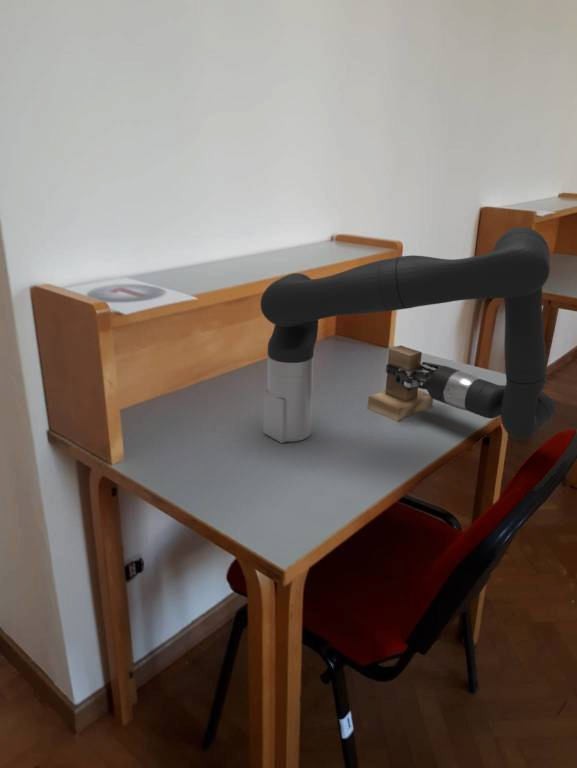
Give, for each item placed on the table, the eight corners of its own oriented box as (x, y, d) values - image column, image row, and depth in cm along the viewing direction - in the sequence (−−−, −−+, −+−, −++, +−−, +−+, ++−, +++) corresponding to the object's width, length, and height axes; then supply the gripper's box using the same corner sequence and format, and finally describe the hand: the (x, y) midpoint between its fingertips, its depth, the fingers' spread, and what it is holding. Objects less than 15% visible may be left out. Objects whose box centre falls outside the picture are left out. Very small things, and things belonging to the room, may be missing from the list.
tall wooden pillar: (405, 402, 142) (410, 355, 138) (385, 394, 147) (389, 348, 143) (417, 398, 145) (421, 352, 141) (396, 390, 149) (400, 345, 145)
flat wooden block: (397, 421, 140) (398, 409, 139) (367, 408, 146) (368, 396, 145) (432, 407, 147) (433, 395, 146) (402, 395, 154) (403, 384, 152)
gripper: (478, 364, 136) (415, 344, 148) (437, 379, 127) (373, 356, 140) (474, 396, 139) (412, 374, 151) (433, 413, 130) (371, 388, 142)
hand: (394, 366), depth 145 cm, fingers closed on tall wooden pillar, 4 cm apart
